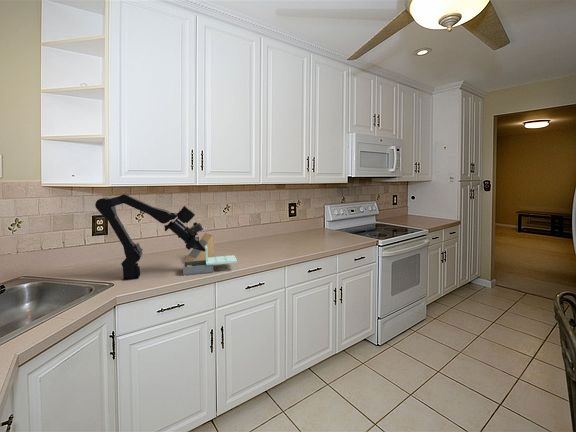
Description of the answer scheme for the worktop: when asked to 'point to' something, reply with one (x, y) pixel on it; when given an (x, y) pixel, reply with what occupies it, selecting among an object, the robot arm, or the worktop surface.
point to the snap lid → (219, 259)
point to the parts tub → (196, 267)
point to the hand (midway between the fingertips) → (204, 250)
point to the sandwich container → (200, 255)
